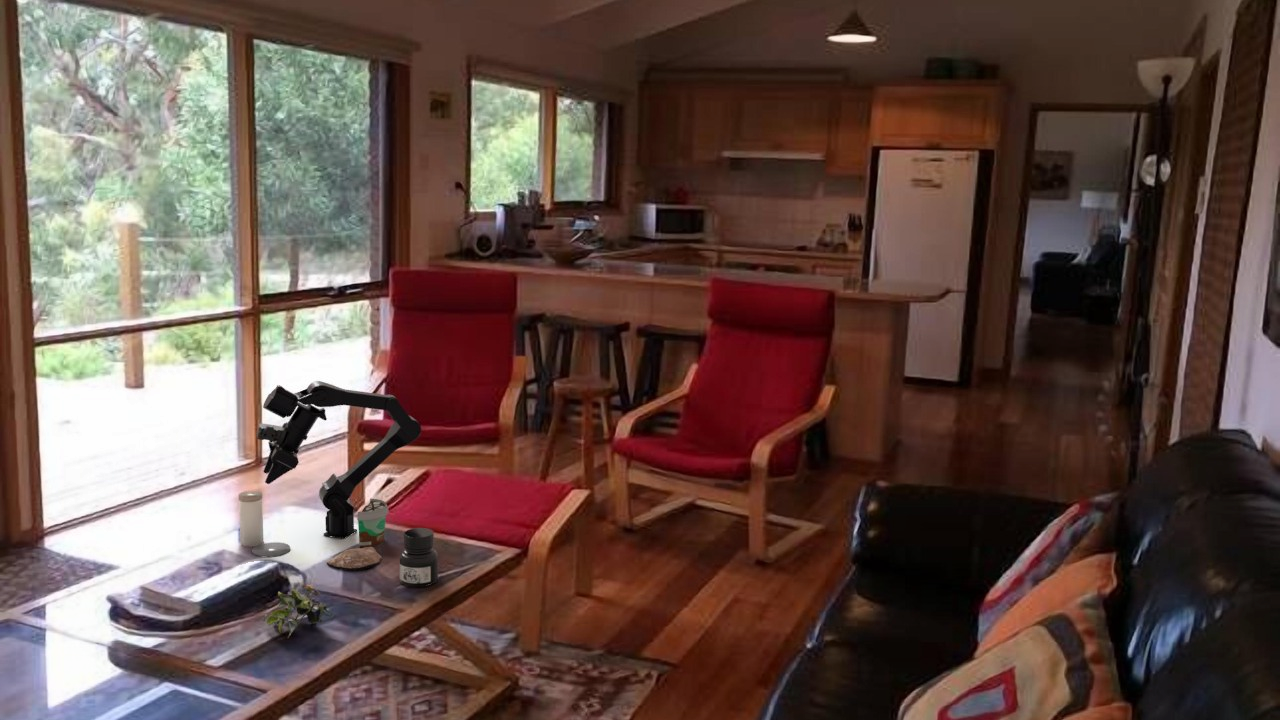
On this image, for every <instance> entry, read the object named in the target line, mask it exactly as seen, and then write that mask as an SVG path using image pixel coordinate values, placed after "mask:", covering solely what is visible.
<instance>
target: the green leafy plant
mask: <svg viewBox="0 0 1280 720" xmlns="http://www.w3.org/2000/svg"><path fill="white" fill-rule="evenodd" d="M302 588H304V590H306V591H307V592H309V593H308V594H306V593H305V592H303V591H301V590H297V589H292V590H291V589H290V590H289V591H288V592H287V594H285V593H282V592H280V591H278V592H277V595H278V598H280V602H279V604H278V609H275V610H274V611H273V612H272V613H271V614H270V613H269V612H265V614H264V615H263V617H262V618H261V621H263V622H266V624H267V625H268V627H269V626H271V625H274V627H276V626H277V625H278V624H279V626H278V632H279V633H280V634H281V633H282V629H283V626H284V624H285V623H287V622H288V628H289V634H288V636H287V638H286V639H289V638H290V637H291V635H292V633H293V632H294V630H296V628H297V627H298V626H299V624H300V622H301V621H302V620H303V619H304V618H305V616H306V617H307V619H308V620H307V621H308V622H309V623H311V624H313V625H314V624H316V623H318V624H319V623H320V624H322V623H323V619H322V618H321V616H322V615H325V616H326V617H329V618H332V617H333V616H334V612H331V611H329V610H328V608H327V604H326V603H325V602H324V603H323V602H321V601H322V598H318V597H314V596H318V595H320V594H321V592H320V591H319V590H318V589H316V587H312V586H310V585H306V584H302ZM313 595H314V596H313ZM283 607H285V608H284V609H283ZM295 611H296V613H297V615H296V617H293V614H292V613H293V612H295ZM299 615H300V616H302V617H300V618H299ZM267 617H268V618H267ZM266 618H267V620H266ZM298 618H299V619H298ZM289 619H290V620H289Z"/></svg>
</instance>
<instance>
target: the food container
mask: <svg viewBox="0 0 1280 720" xmlns="http://www.w3.org/2000/svg"><path fill="white" fill-rule="evenodd" d="M389 512H390V511H389V507H388V505H387V503H386V502H385V500H382V499H377V498H372V497H371V498H369V503H368V504H367V505H366V506H364V508H363V509H362V510H361V511H357V516H356V517H357V519H356V521H357V524H358V525H357V526H358V528H357V529H358V541H359V542H358V544H359V547H358V548H365V547H373V548H376V547H378V546H381V545H382V543H383V544H384V542H385V533H386V532H385V531H386V518H387V517H386V516H387V515H388V514H389Z"/></svg>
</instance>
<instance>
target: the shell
mask: <svg viewBox="0 0 1280 720" xmlns="http://www.w3.org/2000/svg"><path fill="white" fill-rule="evenodd" d="M382 560H383V558H382V555H380V553H378V552H377V550H376V549H375V547H365V548H359V547H358V548H357V547H356V548H350V549H346V550H345V549H344V550H343V551H342V552H341V553H339V554H337V555H335V556H334V557H332V558H330V559H329V560H327V561H326V565H327V566H328V567H329V568H333V569H335V570H339V571H340V570H342V571H349V572H350V571H357V572H358V571H364V570H366V569H369V568H373V567H375V566H379V565H380V564H381V562H382Z"/></svg>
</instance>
